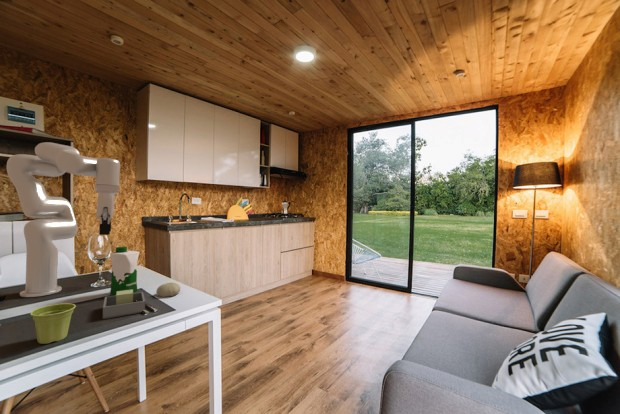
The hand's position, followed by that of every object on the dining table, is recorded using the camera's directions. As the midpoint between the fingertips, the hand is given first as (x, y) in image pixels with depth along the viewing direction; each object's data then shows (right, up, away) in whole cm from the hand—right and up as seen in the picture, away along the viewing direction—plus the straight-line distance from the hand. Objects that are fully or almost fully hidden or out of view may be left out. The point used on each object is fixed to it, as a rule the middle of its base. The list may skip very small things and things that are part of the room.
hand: (105, 233), depth 105 cm
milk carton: (-1, -28, +12) cm, 30 cm away
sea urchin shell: (+19, -29, +12) cm, 36 cm away
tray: (+12, -28, -6) cm, 31 cm away
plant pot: (+7, -28, -28) cm, 40 cm away
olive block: (+12, -27, -6) cm, 31 cm away
